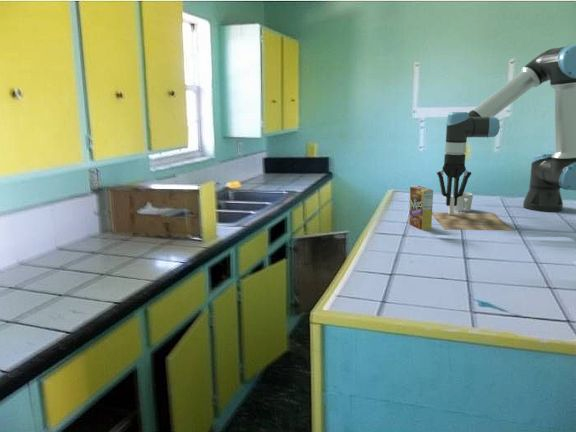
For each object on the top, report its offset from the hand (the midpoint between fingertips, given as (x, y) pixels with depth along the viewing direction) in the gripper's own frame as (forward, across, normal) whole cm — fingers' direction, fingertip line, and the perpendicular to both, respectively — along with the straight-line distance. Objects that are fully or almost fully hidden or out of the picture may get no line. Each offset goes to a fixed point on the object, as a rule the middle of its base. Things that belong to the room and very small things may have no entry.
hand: (450, 213), depth 196 cm
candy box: (+2, +15, +19) cm, 24 cm away
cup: (+2, -7, -9) cm, 12 cm away
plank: (+2, -5, +2) cm, 6 cm away
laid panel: (+2, -5, +14) cm, 15 cm away
